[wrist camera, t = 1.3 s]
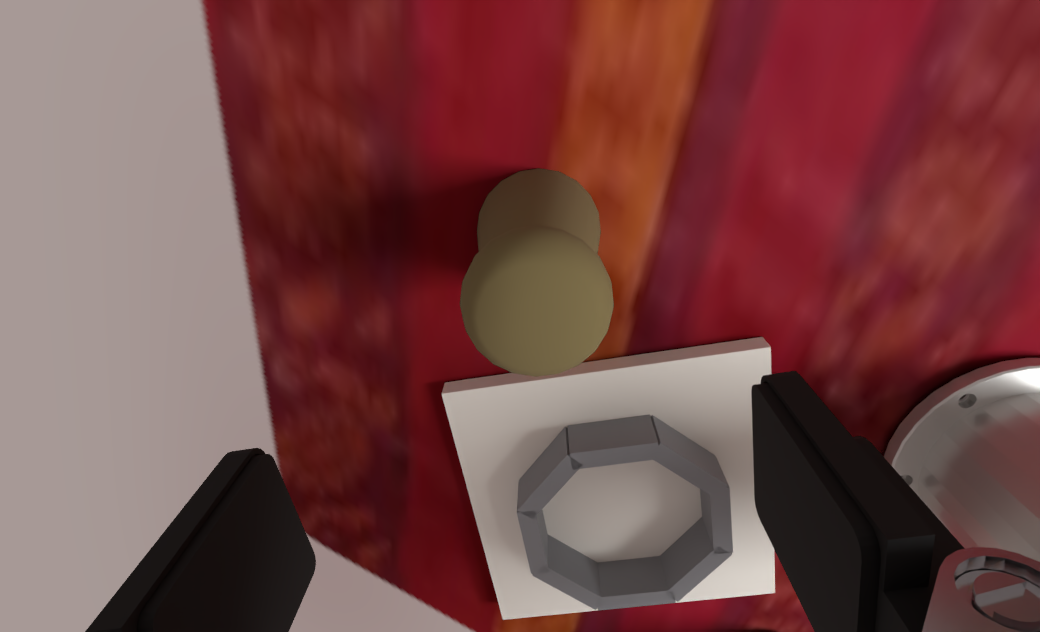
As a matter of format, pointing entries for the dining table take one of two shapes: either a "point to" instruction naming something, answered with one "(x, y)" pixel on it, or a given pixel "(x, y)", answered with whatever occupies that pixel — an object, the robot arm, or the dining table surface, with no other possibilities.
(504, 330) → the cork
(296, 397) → the dining table surface
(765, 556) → the socket plate
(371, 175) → the dining table surface
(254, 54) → the dining table surface
